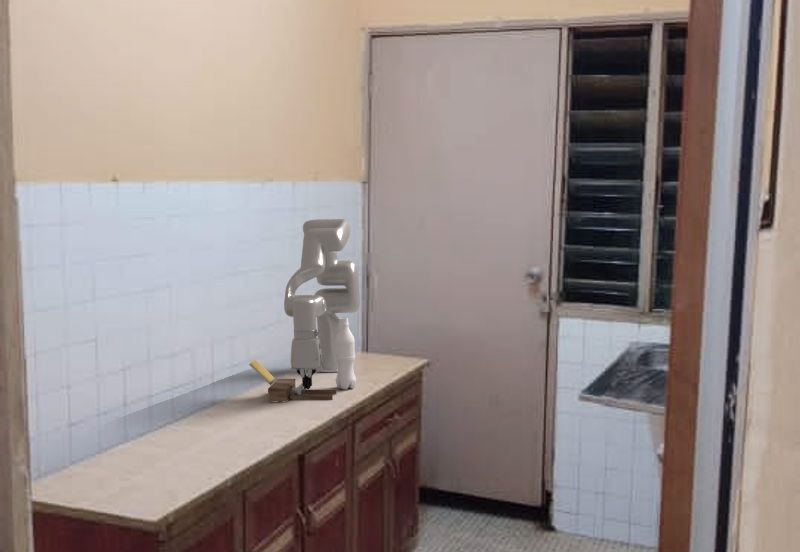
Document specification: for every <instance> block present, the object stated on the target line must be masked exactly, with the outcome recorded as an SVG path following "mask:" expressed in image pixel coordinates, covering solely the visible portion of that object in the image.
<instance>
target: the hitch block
mask: <svg viewBox="0 0 800 552" xmlns="http://www.w3.org/2000/svg"><path fill="white" fill-rule="evenodd" d="M290 387H297V386H296V378H277V380H276V381H275V382H274V383H273V384H272V385H269V387H268V388H267V396H268V402H269V401H287V400H288V399H289V400H290V399H310V400H309V401H312V400H314V401H315V400H321V401H324V400H325V401H326V400H327V401H328V400H333V399H334V398H333V397H334V396H333V395H337V389H305V395H291V398H290V396H289V388H290ZM289 400H288V401H289ZM288 401H287V402H288Z"/></svg>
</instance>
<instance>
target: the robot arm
mask: <svg viewBox="0 0 800 552" xmlns="http://www.w3.org/2000/svg"><path fill="white" fill-rule="evenodd" d="M302 231H303V240H302V248H301V249H302V251H301V261H300V267H299V269H298V270H296V271H295V272H294V274H292V275H291V277H290V278H289V280H288V282H287V284H286V286H285V291H284V292H285V293H284V300H283V301H284V302H283V304H284V305H283V309H284V312H285V314H286V316H288V317H291V318H292V319H293V338H292V341H291V346H290V347H291V348H290V366H291V367H290V371H291V372H292V373H296V374H298V375H299V376H300V377H301V379H302V380H301V382H302V385H303V386H304V389H305V390H311V387H312V386H313V376H314V374H315V373H319V372H320V373H338V365H337V361H336V358H335V343H334V340H335V337H336V335H337V333H338V330H339V326H340V325H339V322H340V321H339V319H340V317H338V316H337V314H352V313H353V314H354V313H356V312H358V311H359V309H360V303H361V302H360V300H361V299H360V283H359V273H358V272H359V271H358V267H357V264H356V263H355V262H354V261H353V260H339V258H338V252H341V251H343V250H344V248H345V246H346V244H347V242H348V241H349V239H350V235H351V234H350V233H351V227H350V224H349V222H348V220H346V219H344V218H343V219H341V218H335V219H334V218H333V219H329V218H327V219H321V218H320V219H309V220H306V221H305V222H304V223H303V225H302ZM315 278H316V280H317V283H318V284H319V285H321V286H327V287H326V288H321V289H318V290H317V291H315V293H314V294H295V293H296V291H297V290H298V289H299V287H300V286H302V285H304V284H305V283H306V282H307V283H308V281H311V280H313V279H315ZM328 286H329V288H328ZM330 286H333V287H330ZM334 286H341V287H342V286H344V287H343V288H341V287H339V288H338V287H335V288H334ZM306 370H308V371H307V373H306Z"/></svg>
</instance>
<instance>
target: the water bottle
mask: <svg viewBox="0 0 800 552" xmlns="http://www.w3.org/2000/svg"><path fill="white" fill-rule="evenodd" d="M339 321H340V322H339V325H340V326H339V330H338V333H337V335H336V337H335V340H334V343H335V358H336V361H337V365H338V372H337V375H336V379H335V383H336V387H337V388H338V390H341V389H342V390H344V391H346V390H347V391H348V389H349V388H350V389H354V388H355V386H356V384H357V377H356V374H355V371H354V362H355V359H356V349H355V348H356V346H355V342H356V340H355V337H354V335H353V333H352V332H351V330H350V327H349V324H350V323H349V318H348V317H347V316H345V317H343V316H342V317H339Z"/></svg>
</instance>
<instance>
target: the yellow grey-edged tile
mask: <svg viewBox="0 0 800 552" xmlns="http://www.w3.org/2000/svg"><path fill="white" fill-rule="evenodd" d="M248 365H249V366H250V368H252V369H253V371H255V372H256V373H257V374H258V375H259V376H260V377H261V378H262V379H263V380H264V381H265V382H267V384H269V386H271V385H272V384H273V383H274V382H276V381H277V380H278V378H277V377H274V376H273V375H272V374H271V373H270V372H269V371H268V370H267V369H266V368H265V367H264V366H263V365H262V364H261V363H260V362H259V361H257V360H256V359H254V360H252V361H251V362H249V364H248Z"/></svg>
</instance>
